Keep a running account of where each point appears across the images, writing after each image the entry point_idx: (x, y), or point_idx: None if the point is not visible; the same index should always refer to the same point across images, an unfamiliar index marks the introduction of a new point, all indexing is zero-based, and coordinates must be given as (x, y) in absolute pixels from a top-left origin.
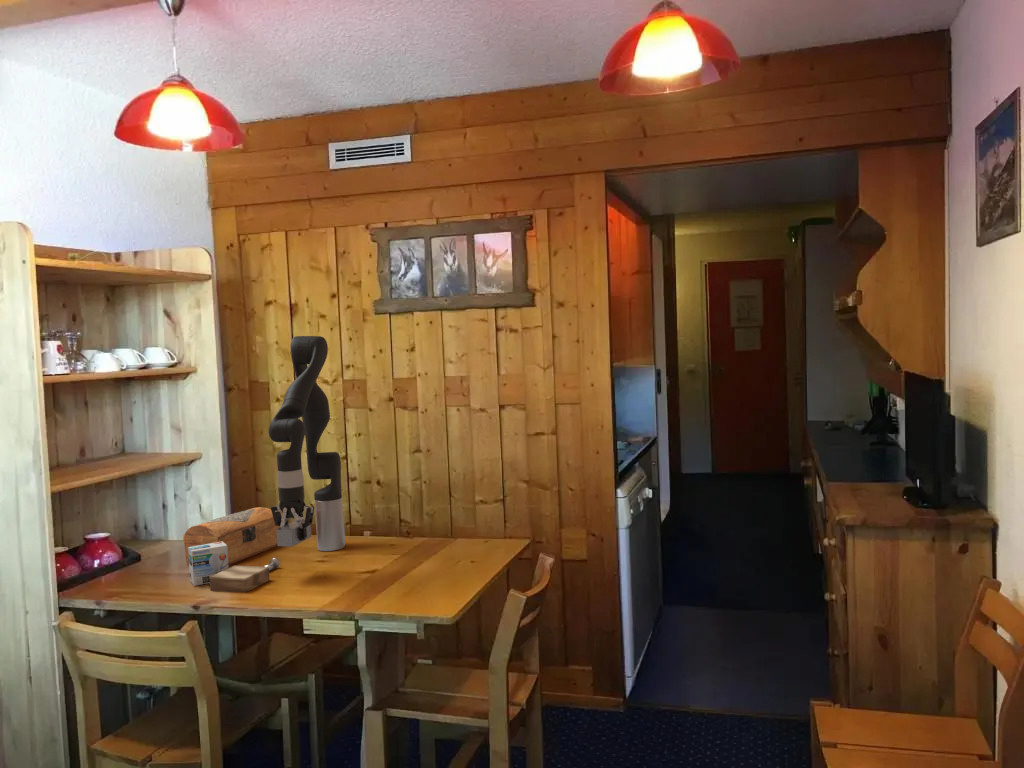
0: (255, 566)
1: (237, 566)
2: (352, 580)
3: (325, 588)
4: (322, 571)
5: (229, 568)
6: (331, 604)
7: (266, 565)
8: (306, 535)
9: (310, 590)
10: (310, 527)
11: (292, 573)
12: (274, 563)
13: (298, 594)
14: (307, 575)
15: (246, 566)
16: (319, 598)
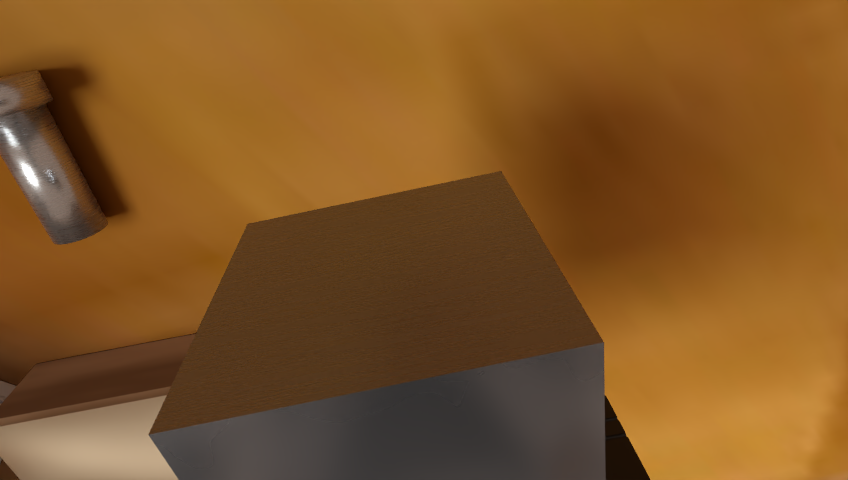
0: (155, 398)
1: (26, 437)
2: (840, 149)
3: (724, 316)
4: (504, 33)
5: (29, 478)
6: (844, 448)
7: (40, 209)
8: (609, 410)
9: (656, 362)
10: (549, 261)
11: (305, 159)
12: (22, 125)
13: (627, 417)
14: (455, 161)
15: (90, 418)
16: (759, 420)
